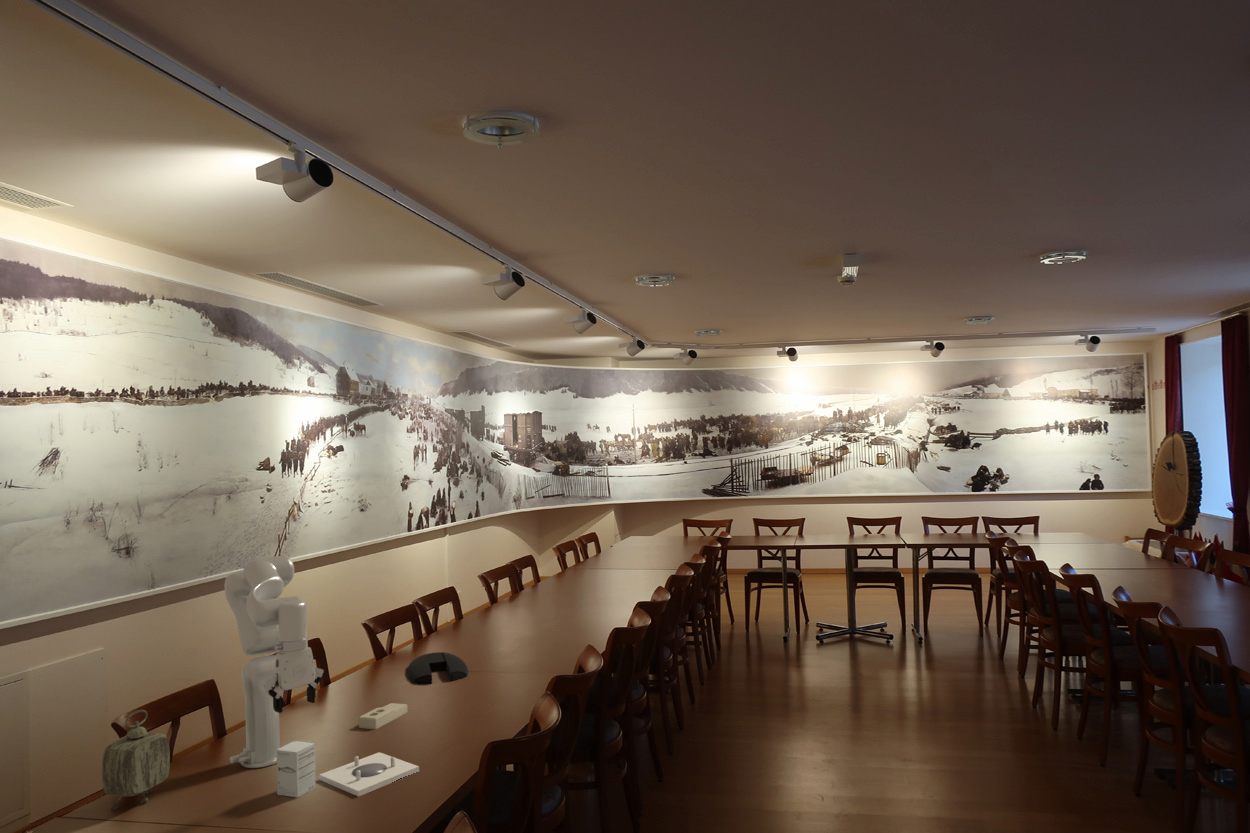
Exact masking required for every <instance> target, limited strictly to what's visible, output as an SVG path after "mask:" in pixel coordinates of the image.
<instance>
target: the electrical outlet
mask: <svg viewBox="0 0 1250 833" xmlns="http://www.w3.org/2000/svg"><path fill="white" fill-rule="evenodd" d="M407 713H408V703H407V704H405V703H397V702H396V703H395V702H394V703H393V702H392V703H391V702H390V703H389V704H387V705H384V706H382V707H380V706H379V707H376V708H374V709H372V710H370V711H368V712H366V713H364V714H362V715H360V716H359V717H358V728H359V729H360V728H361V729H369V730H377V729H379V728H381V727H383V726H384V725H386V724H388V723H390V722H393V721H394V720H396V719H398V718H400V717H401V716H404V715H405V714H407Z"/></svg>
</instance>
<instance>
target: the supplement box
mask: <svg viewBox="0 0 1250 833" xmlns="http://www.w3.org/2000/svg"><path fill="white" fill-rule="evenodd" d="M315 747H316V743H313V742H306V741H297V740H294V741H292V742H289V743H287V744H285V745H283V746H282V747H281V746H280V748H279V749H277V763H276V790H277V791H276V792H277V796H284V797H291V798H296V799H298V798H300V797H301V796H304V795H305V794H307V793H309V792H310V791H312V790H314V789H316V748H315Z"/></svg>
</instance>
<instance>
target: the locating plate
mask: <svg viewBox="0 0 1250 833" xmlns="http://www.w3.org/2000/svg"><path fill="white" fill-rule="evenodd" d="M353 758H354V761H352V762H350V763H347V764H344V765H341V766H339V767H338V766H337V767H336V768H332V769H331V770H328V771H325V772H323V773H319V778H318V779H319V781H322V782H323V783H326V784H328V785H330V786H333V787H335V788H338V789H339V790H342V791H345V792H347V793H348V794H352V795H354V796H357V797H361V796H364V795H366V794H368V793H370V792H373V791H375V790H377V789H380V788H383V787H385V786H388V785H391V784H393V783H395V782H397V781H396V780H398V779H400V778H402V779H404V778H403V777H405V776H407V777H409V776H408V775H410V776H412V775H414V774H413V773H415V774H417V773H419V772H420V766H419V765H416V764H414V763H410V762H407V761H405V760H402V759H400V758H397V757H395V756H391V755H388V754H386V753H383V752H376V753H373V754H371V755H368V756H365V757H362V758H360V759H359V755H356V756H354V757H353ZM416 772H417V773H416ZM411 774H412V775H411ZM405 778H406V777H405ZM400 780H401V779H400ZM394 781H395V782H394ZM398 781H399V780H398ZM392 782H393V783H392Z"/></svg>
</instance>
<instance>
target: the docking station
mask: <svg viewBox="0 0 1250 833" xmlns="http://www.w3.org/2000/svg"><path fill="white" fill-rule="evenodd" d="M406 670H407V671H406V676H407V677H408V680H409V681H410V682H411V683H412V684H414V685H415V684H421V685H422V684H424V685H425V684H427V685H428V684H429V685H431V684H433V675H432V674H433V672H441V671H446V673H447V675H448V678H449V680H450V682H453V681H458V680H461V679H464V678H467V677H468V675H469V672H468V671H469V669H468V666H467V665H466V663H465V661H464V660H463V659H461V658H460V657H459V656H457V655H455V654H452V653H449V652H430V653H427V654H426V653H423V654H422V655H420V656H418V657H416V658H414V659H413V660H412V661H411V662H410V663H409V665H408V667H407V669H406Z"/></svg>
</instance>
